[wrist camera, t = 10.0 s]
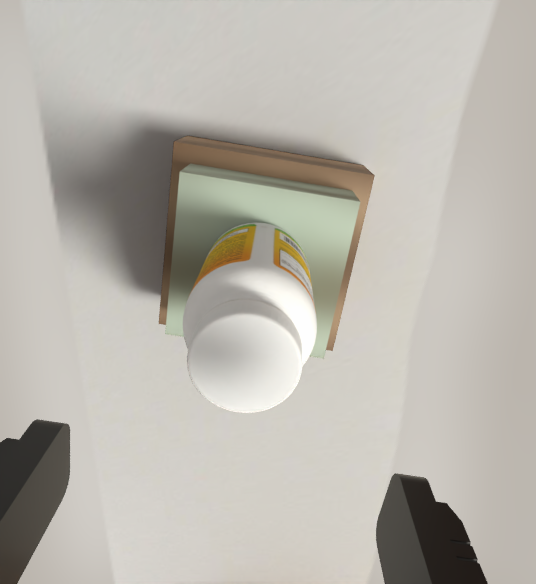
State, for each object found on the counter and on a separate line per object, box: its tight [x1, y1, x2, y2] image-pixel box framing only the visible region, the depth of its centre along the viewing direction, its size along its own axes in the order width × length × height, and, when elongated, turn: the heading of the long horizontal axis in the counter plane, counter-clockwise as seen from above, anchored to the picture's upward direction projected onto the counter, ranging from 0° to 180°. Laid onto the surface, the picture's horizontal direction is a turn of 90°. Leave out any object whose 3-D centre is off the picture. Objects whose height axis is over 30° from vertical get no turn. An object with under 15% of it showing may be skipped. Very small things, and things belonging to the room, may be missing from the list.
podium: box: [159, 136, 375, 359], centre depth 29 cm, size 11×11×7 cm
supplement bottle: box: [183, 223, 317, 413], centre depth 21 cm, size 5×5×10 cm
